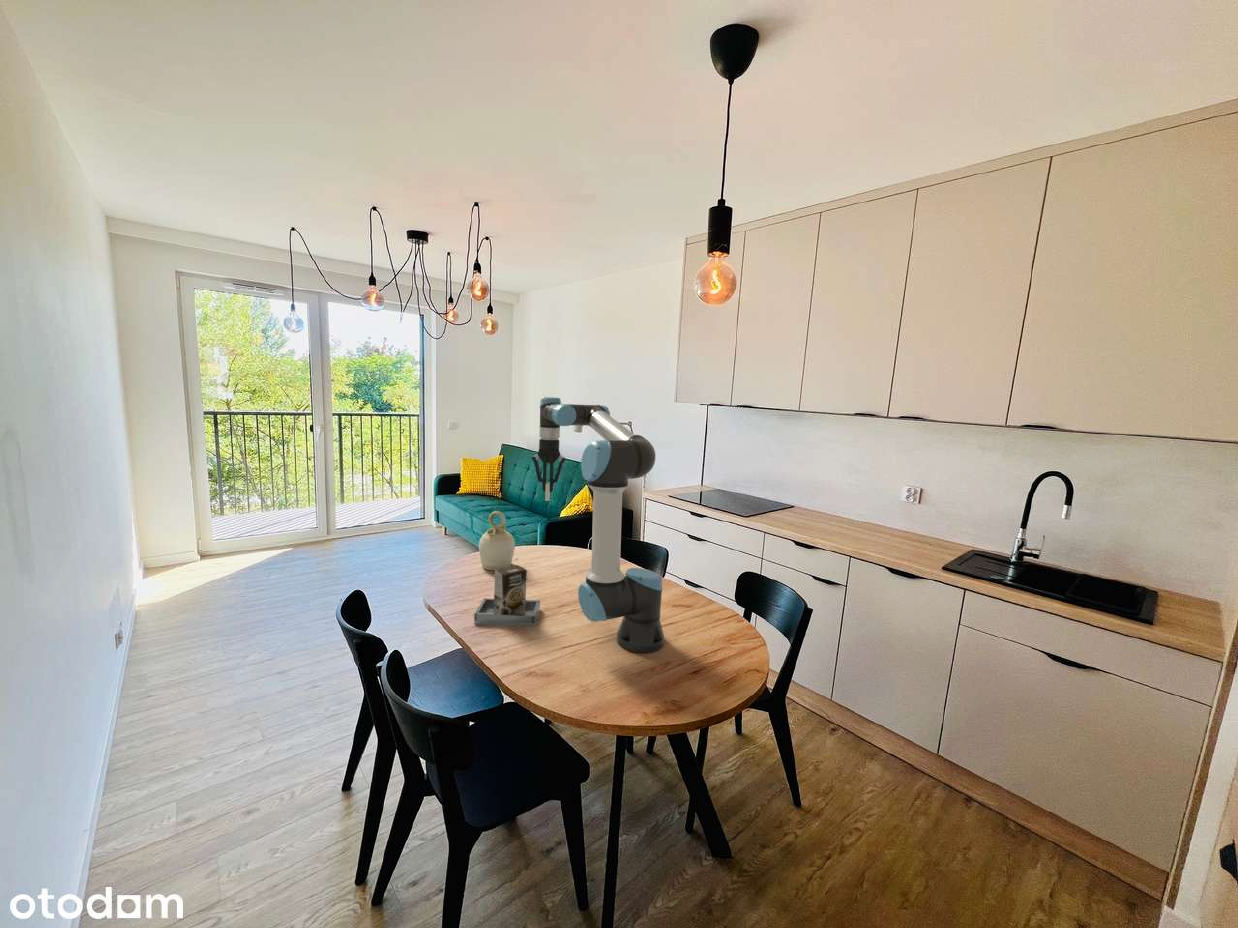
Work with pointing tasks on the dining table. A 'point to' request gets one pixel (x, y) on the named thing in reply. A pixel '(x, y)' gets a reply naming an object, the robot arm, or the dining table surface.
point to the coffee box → (510, 590)
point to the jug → (496, 545)
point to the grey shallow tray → (489, 617)
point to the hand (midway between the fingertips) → (547, 499)
